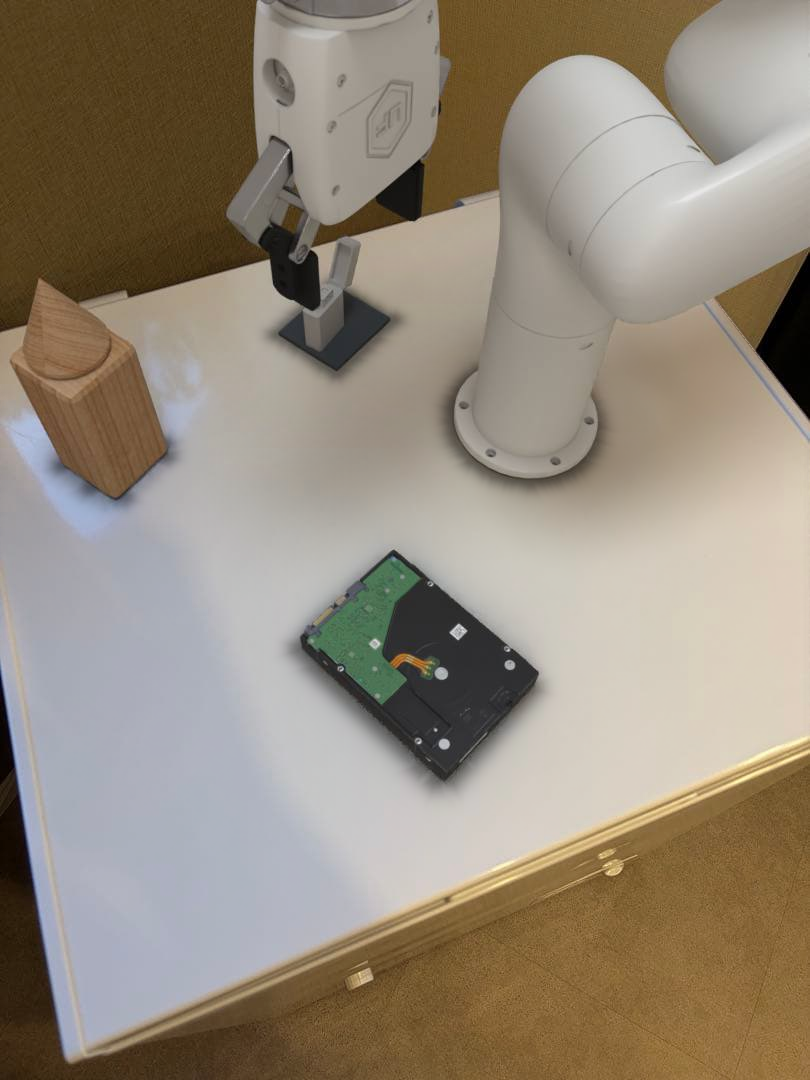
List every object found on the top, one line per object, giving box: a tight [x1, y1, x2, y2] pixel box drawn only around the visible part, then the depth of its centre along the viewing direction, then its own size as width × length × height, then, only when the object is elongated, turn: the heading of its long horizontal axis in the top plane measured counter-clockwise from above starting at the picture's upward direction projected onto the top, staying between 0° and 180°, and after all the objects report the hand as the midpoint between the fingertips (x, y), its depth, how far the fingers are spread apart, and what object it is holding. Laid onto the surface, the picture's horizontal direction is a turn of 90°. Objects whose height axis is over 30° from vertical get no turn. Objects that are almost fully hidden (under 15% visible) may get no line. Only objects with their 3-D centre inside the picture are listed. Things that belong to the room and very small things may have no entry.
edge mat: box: [277, 289, 391, 372], centre depth 83 cm, size 8×7×1 cm
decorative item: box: [9, 277, 168, 498], centre depth 66 cm, size 7×7×20 cm
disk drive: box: [299, 549, 540, 781], centre depth 65 cm, size 10×3×15 cm
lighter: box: [302, 235, 362, 351], centre depth 80 cm, size 7×2×8 cm, turn 149°
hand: (349, 252), depth 54 cm, fingers open, 9 cm apart
